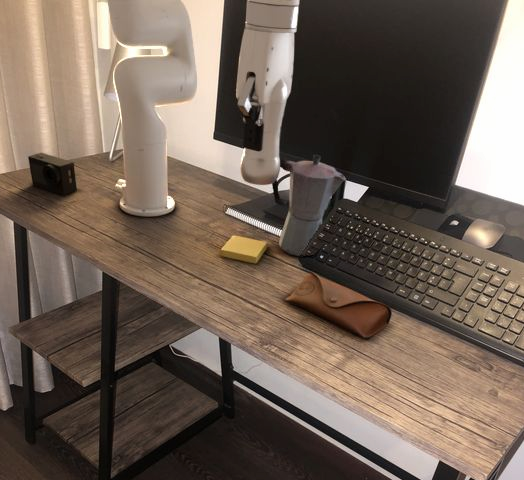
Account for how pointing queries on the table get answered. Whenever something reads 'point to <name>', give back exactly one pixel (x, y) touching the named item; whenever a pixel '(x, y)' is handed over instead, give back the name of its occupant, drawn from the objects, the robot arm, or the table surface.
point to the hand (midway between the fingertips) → (262, 144)
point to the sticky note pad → (244, 249)
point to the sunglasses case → (341, 305)
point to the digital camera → (52, 173)
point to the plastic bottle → (266, 141)
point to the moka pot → (306, 200)
